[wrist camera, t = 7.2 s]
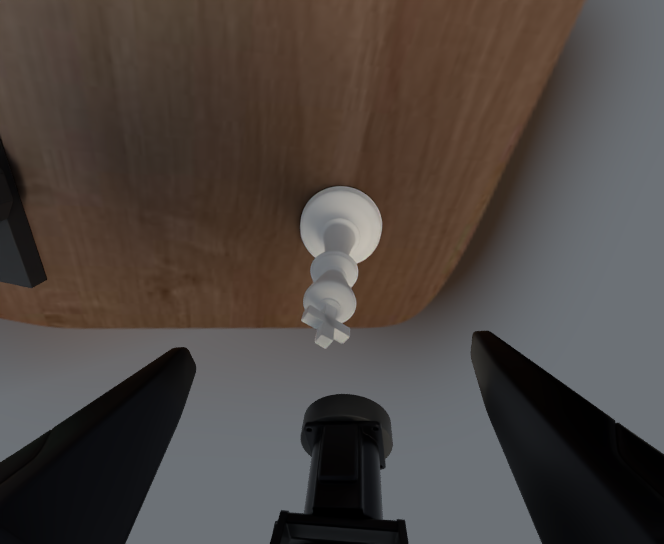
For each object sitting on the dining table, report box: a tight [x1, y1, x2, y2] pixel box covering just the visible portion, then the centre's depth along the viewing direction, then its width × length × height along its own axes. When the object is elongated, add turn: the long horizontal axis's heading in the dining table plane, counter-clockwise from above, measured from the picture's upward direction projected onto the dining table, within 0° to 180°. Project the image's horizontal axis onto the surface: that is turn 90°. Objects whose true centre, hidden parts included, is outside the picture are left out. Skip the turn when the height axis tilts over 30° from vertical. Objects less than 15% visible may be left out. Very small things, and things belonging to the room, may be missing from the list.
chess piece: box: [300, 186, 382, 349], centre depth 14 cm, size 5×5×10 cm
